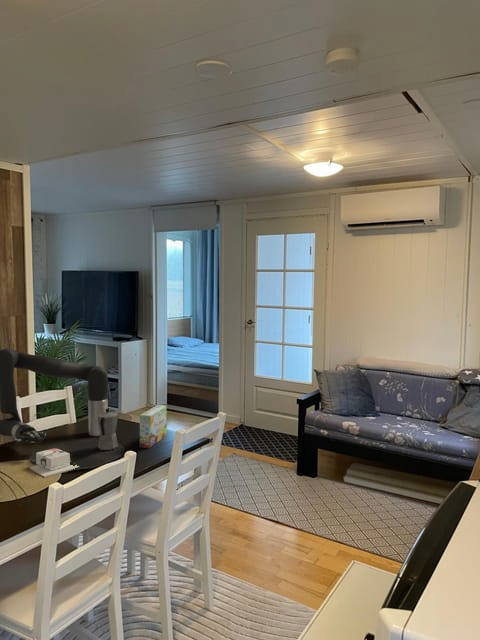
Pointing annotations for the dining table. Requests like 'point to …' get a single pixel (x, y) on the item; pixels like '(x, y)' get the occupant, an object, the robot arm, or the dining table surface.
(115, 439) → the coffeepot
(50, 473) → the mat
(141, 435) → the snack box
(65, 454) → the ink box
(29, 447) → the dining table surface
